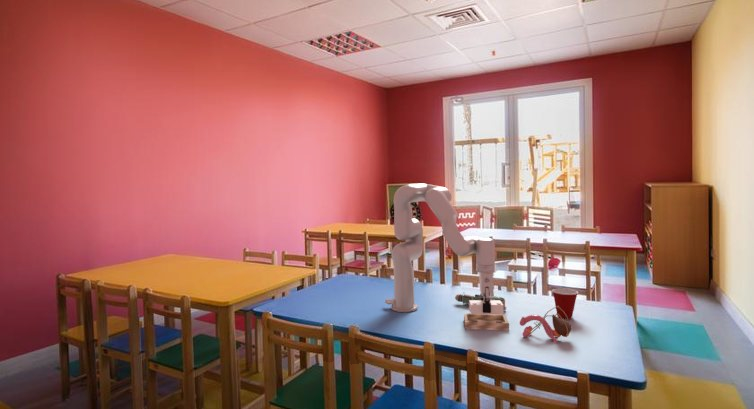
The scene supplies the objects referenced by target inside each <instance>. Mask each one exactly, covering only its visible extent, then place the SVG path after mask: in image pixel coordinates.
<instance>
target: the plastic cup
mask: <svg viewBox="0 0 754 409" xmlns="http://www.w3.org/2000/svg"><path fill="white" fill-rule="evenodd" d="M551 292H552V295H553V299H554V305H555V306H554V307H556V306H559V308H561V309H562V310H563V311H564V312H565V314H566V315H567V317H568V320H571V319H572V318H573V314H574V310H575V306H576V300H577V297H578V294H579V291H577V290H574V289H568V288H553V289H551ZM559 308H558V307H556V308H555V309H556V310H555V311H556V313H558V314H559V315H560V316H561V318H562V319H563V320H567V317H566V315H565V314H564V312H563V311H562V310H561V309H559ZM558 314H557V315H556V317H558V318H560V316H559V315H558Z"/></svg>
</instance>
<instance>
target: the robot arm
mask: <svg viewBox="0 0 754 409" xmlns="http://www.w3.org/2000/svg"><path fill="white" fill-rule="evenodd" d="M451 201H452V193H451V191H450V189H449V188H446V187H444V186H439V185H433V184H427V183H408V184H404V185H402V186H401V187H398V189H397V190H396V191H395V192H394V195H393V208H394V212H393V213H394V214H393V217H394V219H393V221H394V222H393V225H394V228H393V229H394V231H393V232H394V233H393V234H394V236H395V238H396V239H397V240H399V241H404V242H400V243H397V244H396V245H394V246H393V248H392V250H391V253H390V254H391V260H392V267H393V290H394V291H393V292H394V297H393V298H391V299H390V298H385V304H387V305H391V306H390V307H391V308H390V309H391V310H392V311H394V312H398V313H411V312H414V311H416V310H418V308H419V306H418V305H417V303H415V272H414V270H415V269H414V267H413V263H412V261H415V260H418V259H419V258H420V257H421V256H422V255H423V251H424V250H423V249H424V248H423V247H424V246H423V245H424V239H423V238H424V232H423V231H424V229H423V226H422V225H423V224H422V223H421V222H420V221H419V219H417V218H414V217H413V208H412V206H411V204H412V203H417V202H418V203H419V202H425V203H426V204H427V205H428V208H430V210H431V211H432V213H433V214H434V216H435V217H436V218H437V219H438V221H439V223H440V224H441V229H442V233H443V234H442V235H443V237H444V239H445V241H446V243H447V244H448V246H449V247H450V248H451V250H452V251H453V253H455V254H456V255H457V256H459V257H466V256H469V255H470V256H471V255H472V254H473V255H474V254H475V258H476V259H475V261H476V264H475V265H476V267H475V268H476V269H475V270H476V272H477V273H479V274H478V276H479V277H478V278H479V279H478V280H479V282H478V283H479V291H480V294H481V296H482V297H483V298H481V300H483V313H491V302H490V295H491V296H492V297H493V296H495V295H494V294H495V292H494V274H493V273H495V272H496V262H495V261H496V258H495V257H496V250H495V248H496V246H495V244H496V243H495V240H494V239H493V238H489V237H478V236H474V235H468V236H465V237H464V236H463V235H462V233H461V232H460V230H459V228H458V225H457V219H458V215H459V214H458V212H457V210H456V209H455V207H454V206H453V205H452V203H451Z"/></svg>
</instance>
